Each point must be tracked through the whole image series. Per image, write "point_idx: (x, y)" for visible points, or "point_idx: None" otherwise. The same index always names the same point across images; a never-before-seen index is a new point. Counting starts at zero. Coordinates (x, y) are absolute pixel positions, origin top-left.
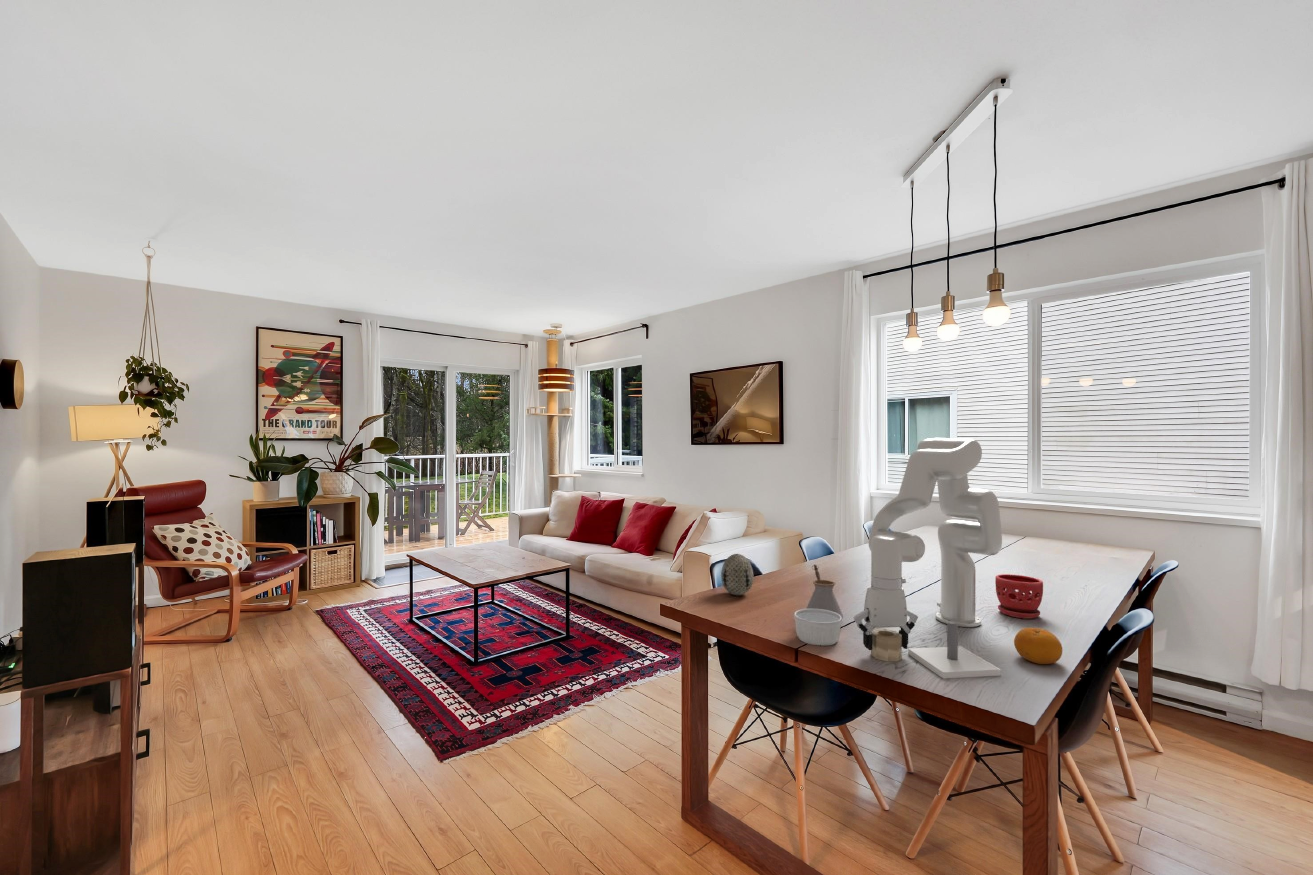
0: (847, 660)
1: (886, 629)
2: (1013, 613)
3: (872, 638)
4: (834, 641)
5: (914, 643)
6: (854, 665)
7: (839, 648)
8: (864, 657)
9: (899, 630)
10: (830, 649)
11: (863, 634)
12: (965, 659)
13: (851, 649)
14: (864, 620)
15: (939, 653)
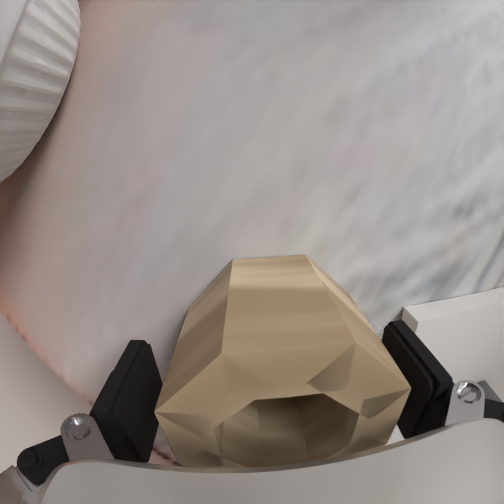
0: (67, 353)
1: (358, 361)
2: None
3: (151, 448)
4: (23, 159)
5: (498, 167)
6: (91, 394)
7: (46, 209)
8: (142, 338)
9: (437, 385)
10: (13, 224)
11: (92, 413)
12: (493, 390)
13: (99, 225)
14: (58, 473)
15: (479, 360)
